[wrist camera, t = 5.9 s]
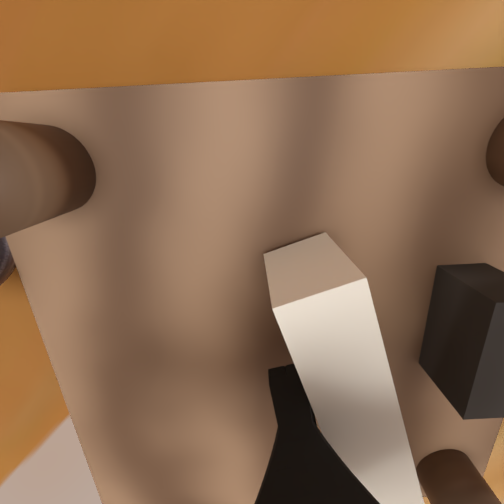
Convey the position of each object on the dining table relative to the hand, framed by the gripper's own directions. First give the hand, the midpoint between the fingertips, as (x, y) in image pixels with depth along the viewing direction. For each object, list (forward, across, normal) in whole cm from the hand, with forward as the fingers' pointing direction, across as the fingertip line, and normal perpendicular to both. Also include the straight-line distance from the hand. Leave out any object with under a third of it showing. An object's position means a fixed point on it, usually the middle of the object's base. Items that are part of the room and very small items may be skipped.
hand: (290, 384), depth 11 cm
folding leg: (+2, -2, +2) cm, 4 cm away
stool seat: (+5, 0, 0) cm, 5 cm away
